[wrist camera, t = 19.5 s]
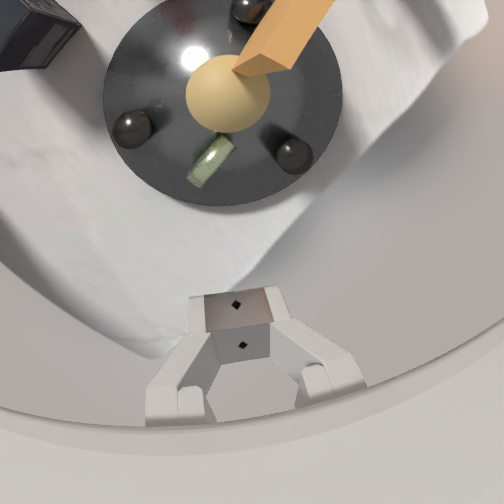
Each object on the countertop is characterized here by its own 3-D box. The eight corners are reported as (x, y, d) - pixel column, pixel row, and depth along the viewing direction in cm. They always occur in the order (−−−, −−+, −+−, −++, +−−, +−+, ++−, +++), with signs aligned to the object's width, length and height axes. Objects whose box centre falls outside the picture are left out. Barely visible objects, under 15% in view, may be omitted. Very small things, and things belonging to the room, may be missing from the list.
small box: (4, 32, 11) (-52, 32, 3) (40, -12, 10) (-10, -30, 1) (44, 72, 17) (-17, 78, 8) (84, 24, 15) (33, 5, 7)
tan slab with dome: (243, 141, 24) (283, 195, 13) (174, 112, 21) (145, 140, 10) (314, 20, 18) (406, -12, 7) (248, -14, 15) (295, -85, 4)
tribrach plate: (230, 235, 32) (235, 254, 29) (70, 120, 21) (53, 126, 18) (370, 100, 25) (390, 105, 22) (222, -42, 14) (226, -58, 11)
